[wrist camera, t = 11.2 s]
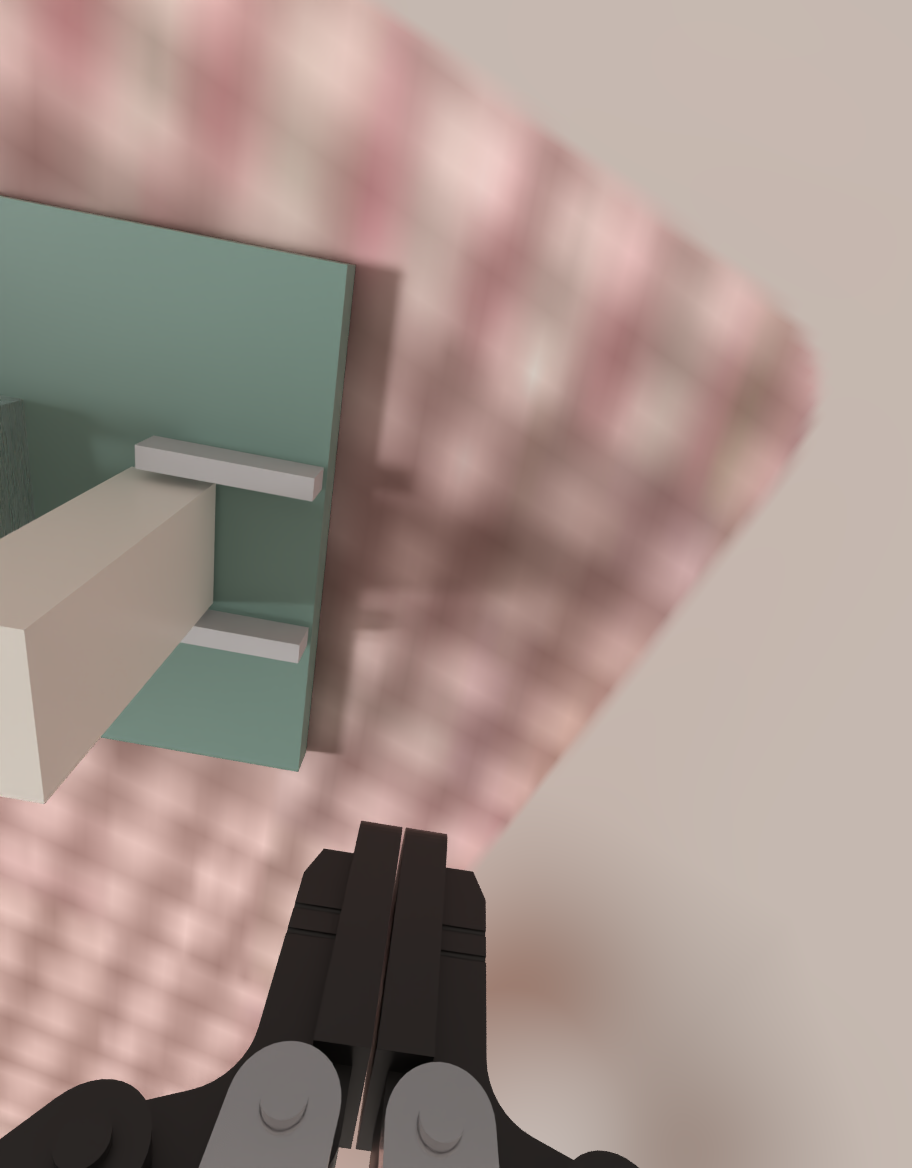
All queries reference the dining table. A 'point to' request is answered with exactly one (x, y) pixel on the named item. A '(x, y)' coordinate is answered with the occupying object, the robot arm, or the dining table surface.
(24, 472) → the heatsink
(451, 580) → the dining table surface
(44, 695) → the block
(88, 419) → the board
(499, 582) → the dining table surface
